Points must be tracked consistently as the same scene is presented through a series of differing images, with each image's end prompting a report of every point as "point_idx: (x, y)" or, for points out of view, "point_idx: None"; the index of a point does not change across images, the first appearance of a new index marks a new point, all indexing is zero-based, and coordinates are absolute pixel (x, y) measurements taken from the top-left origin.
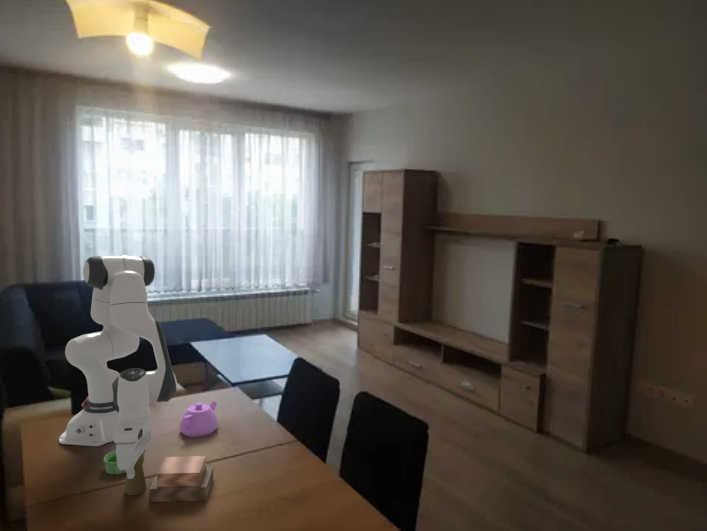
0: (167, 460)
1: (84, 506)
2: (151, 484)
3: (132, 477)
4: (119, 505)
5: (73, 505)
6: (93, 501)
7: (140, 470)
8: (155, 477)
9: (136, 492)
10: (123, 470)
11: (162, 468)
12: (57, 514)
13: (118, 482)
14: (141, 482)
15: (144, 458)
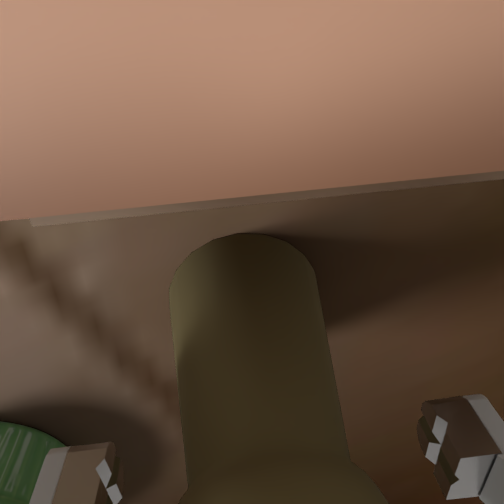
0: (107, 132)
1: (399, 442)
2: (419, 186)
3: (483, 406)
4: (428, 310)
5: (381, 476)
6: (359, 431)
7: (301, 395)
8: (268, 200)
9: (313, 276)
10: (44, 452)
11: (481, 116)
12: (439, 489)
13: (162, 414)
14: (291, 295)
15: (58, 470)
